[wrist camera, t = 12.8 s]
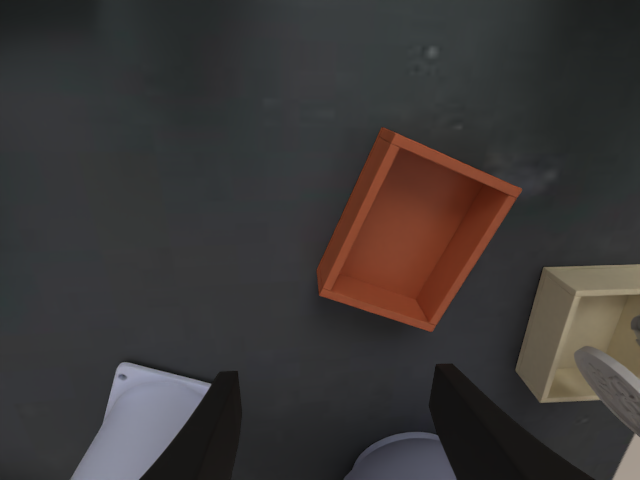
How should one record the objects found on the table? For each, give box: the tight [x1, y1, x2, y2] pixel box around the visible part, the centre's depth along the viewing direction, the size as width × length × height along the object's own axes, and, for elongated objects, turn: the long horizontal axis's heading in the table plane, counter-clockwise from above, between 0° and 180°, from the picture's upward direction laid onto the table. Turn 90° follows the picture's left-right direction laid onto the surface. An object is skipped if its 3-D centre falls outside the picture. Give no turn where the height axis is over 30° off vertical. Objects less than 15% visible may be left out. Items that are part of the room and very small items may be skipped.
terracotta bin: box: [317, 127, 522, 332], centre depth 19 cm, size 9×7×3 cm
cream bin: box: [515, 264, 640, 403], centre depth 23 cm, size 8×6×3 cm
